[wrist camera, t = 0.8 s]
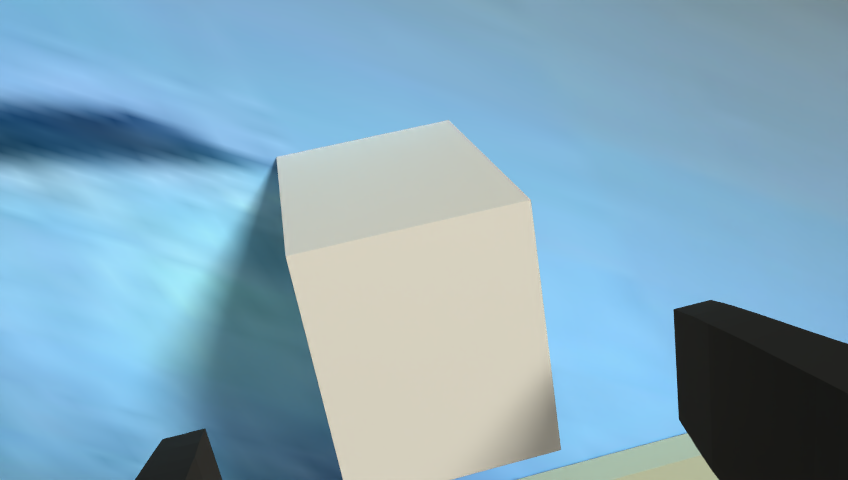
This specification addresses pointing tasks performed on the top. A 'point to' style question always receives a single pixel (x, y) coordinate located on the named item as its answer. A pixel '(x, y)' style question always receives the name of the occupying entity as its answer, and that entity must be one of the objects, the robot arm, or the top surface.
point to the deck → (640, 464)
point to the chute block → (419, 304)
